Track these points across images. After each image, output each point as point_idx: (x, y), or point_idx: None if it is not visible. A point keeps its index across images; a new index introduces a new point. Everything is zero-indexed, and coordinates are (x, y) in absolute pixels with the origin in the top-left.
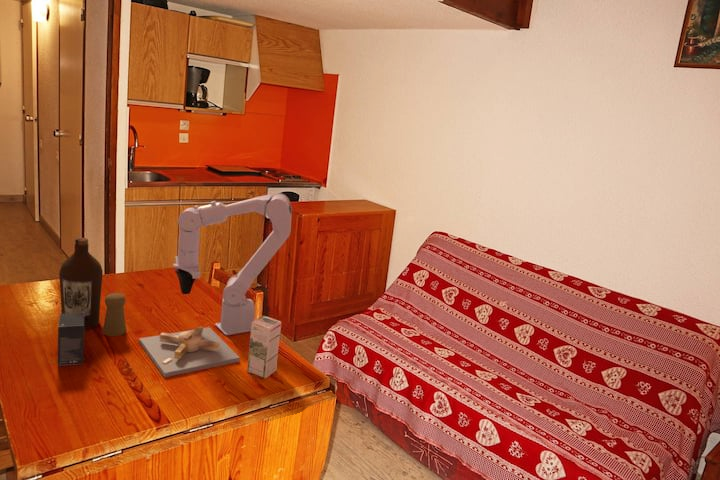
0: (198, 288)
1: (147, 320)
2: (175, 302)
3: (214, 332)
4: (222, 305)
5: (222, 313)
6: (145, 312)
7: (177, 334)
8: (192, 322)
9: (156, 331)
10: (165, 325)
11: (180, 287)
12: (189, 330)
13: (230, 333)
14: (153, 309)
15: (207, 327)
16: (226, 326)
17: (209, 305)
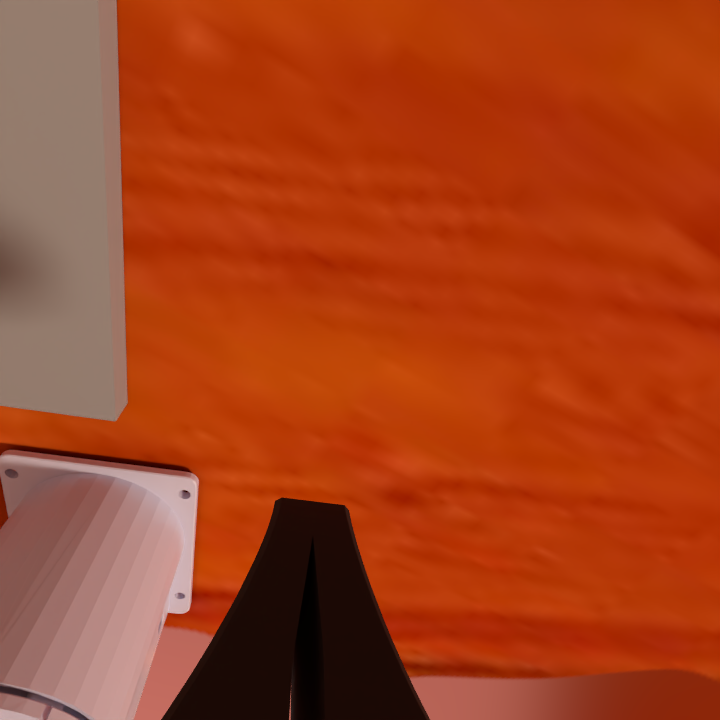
0: (716, 625)
1: (564, 92)
2: (671, 449)
3: (8, 405)
4: (22, 646)
5: (45, 574)
6: (713, 173)
7: (56, 129)
8: (313, 382)
9: (301, 30)
10: (374, 181)
11: (357, 569)
12: (108, 270)
13: (3, 480)
14: (704, 264)
15: (113, 408)
16: (31, 504)
17: (481, 571)
